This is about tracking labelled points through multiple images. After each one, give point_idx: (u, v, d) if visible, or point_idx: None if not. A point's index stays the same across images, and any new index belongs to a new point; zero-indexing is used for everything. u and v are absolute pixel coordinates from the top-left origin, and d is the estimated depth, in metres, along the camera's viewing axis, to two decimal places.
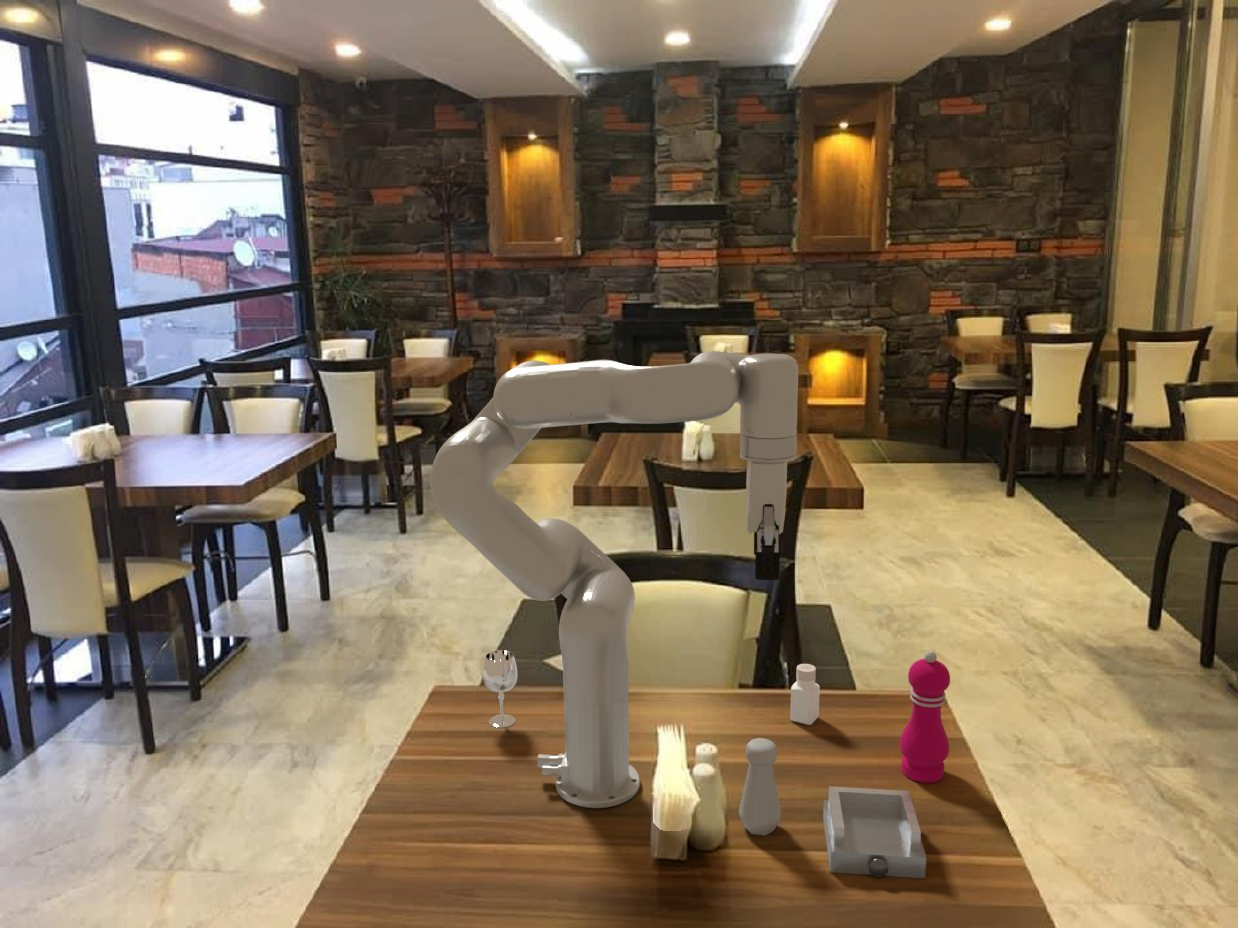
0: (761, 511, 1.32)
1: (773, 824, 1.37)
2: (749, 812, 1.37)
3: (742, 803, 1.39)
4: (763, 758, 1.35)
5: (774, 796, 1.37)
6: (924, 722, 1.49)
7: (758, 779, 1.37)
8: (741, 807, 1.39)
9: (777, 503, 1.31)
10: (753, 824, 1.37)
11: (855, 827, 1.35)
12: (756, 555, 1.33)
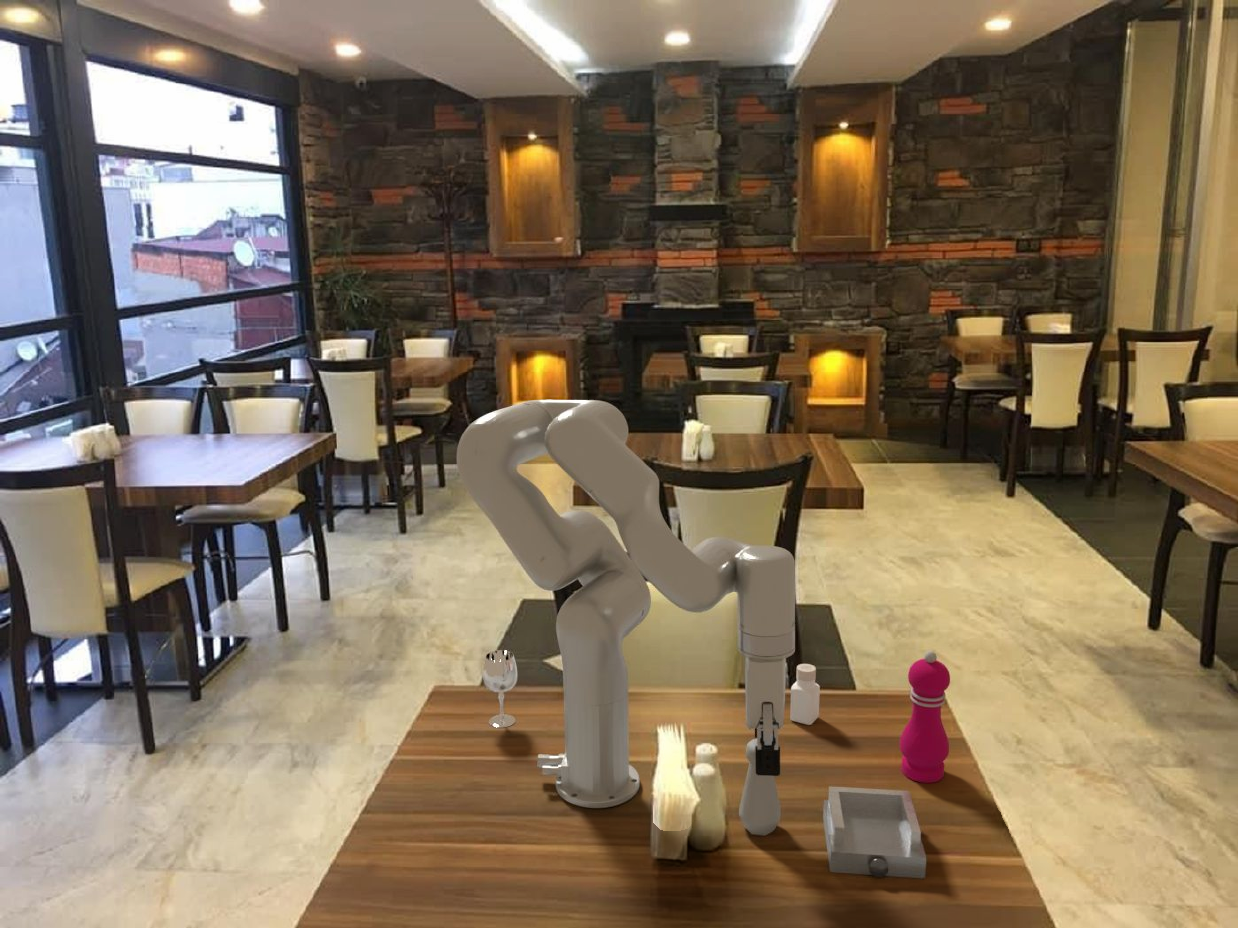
0: (760, 709, 1.30)
1: (773, 824, 1.37)
2: (750, 812, 1.37)
3: (742, 803, 1.39)
4: None
5: (774, 796, 1.37)
6: (924, 722, 1.49)
7: (758, 779, 1.37)
8: (741, 807, 1.39)
9: (776, 700, 1.30)
10: (753, 824, 1.37)
11: (855, 827, 1.35)
12: (756, 751, 1.32)
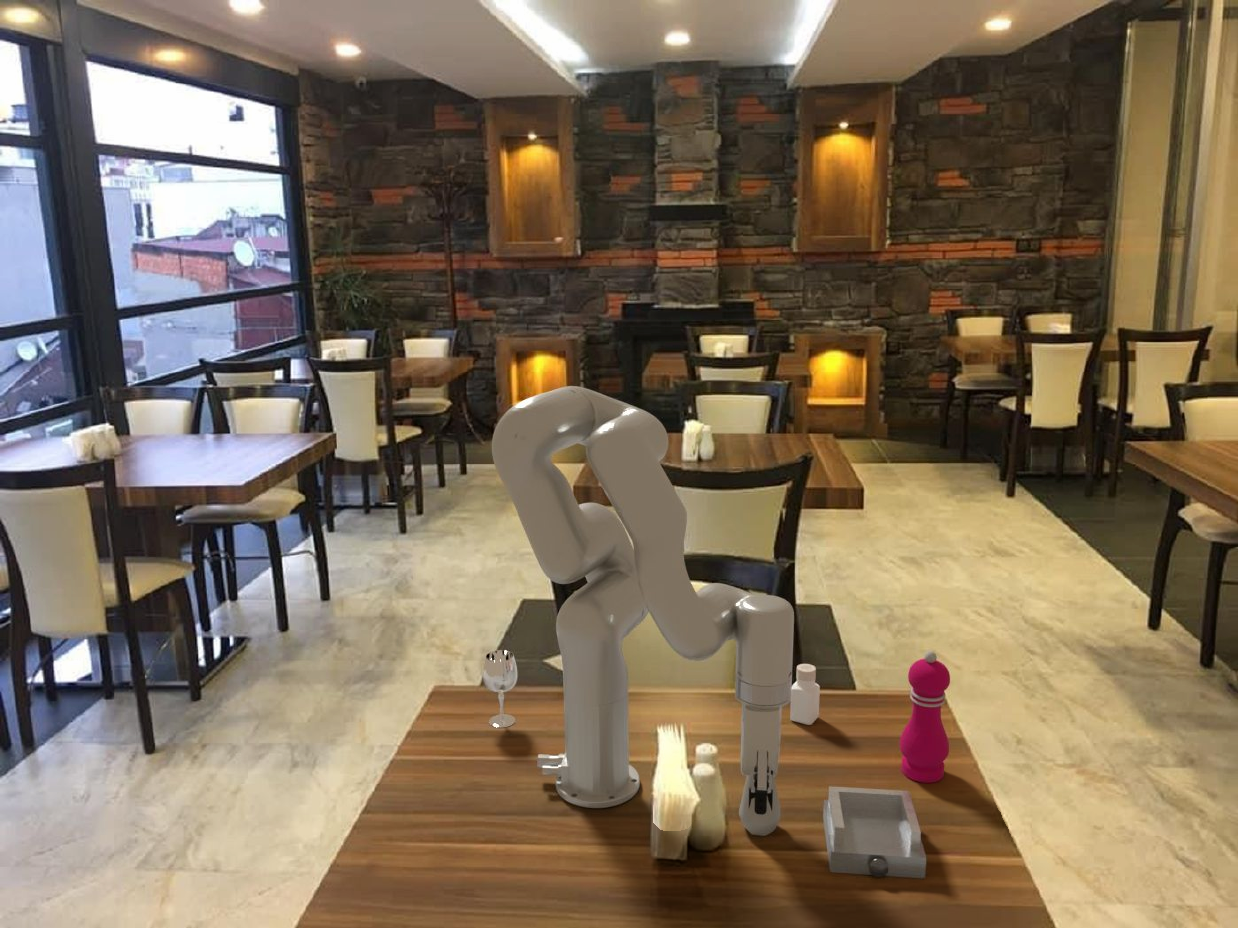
0: (755, 756, 1.32)
1: (773, 824, 1.37)
2: (749, 812, 1.37)
3: (742, 803, 1.39)
4: None
5: (774, 796, 1.37)
6: (924, 722, 1.49)
7: None
8: (741, 807, 1.39)
9: (772, 749, 1.32)
10: (753, 824, 1.37)
11: (855, 827, 1.35)
12: (749, 793, 1.37)
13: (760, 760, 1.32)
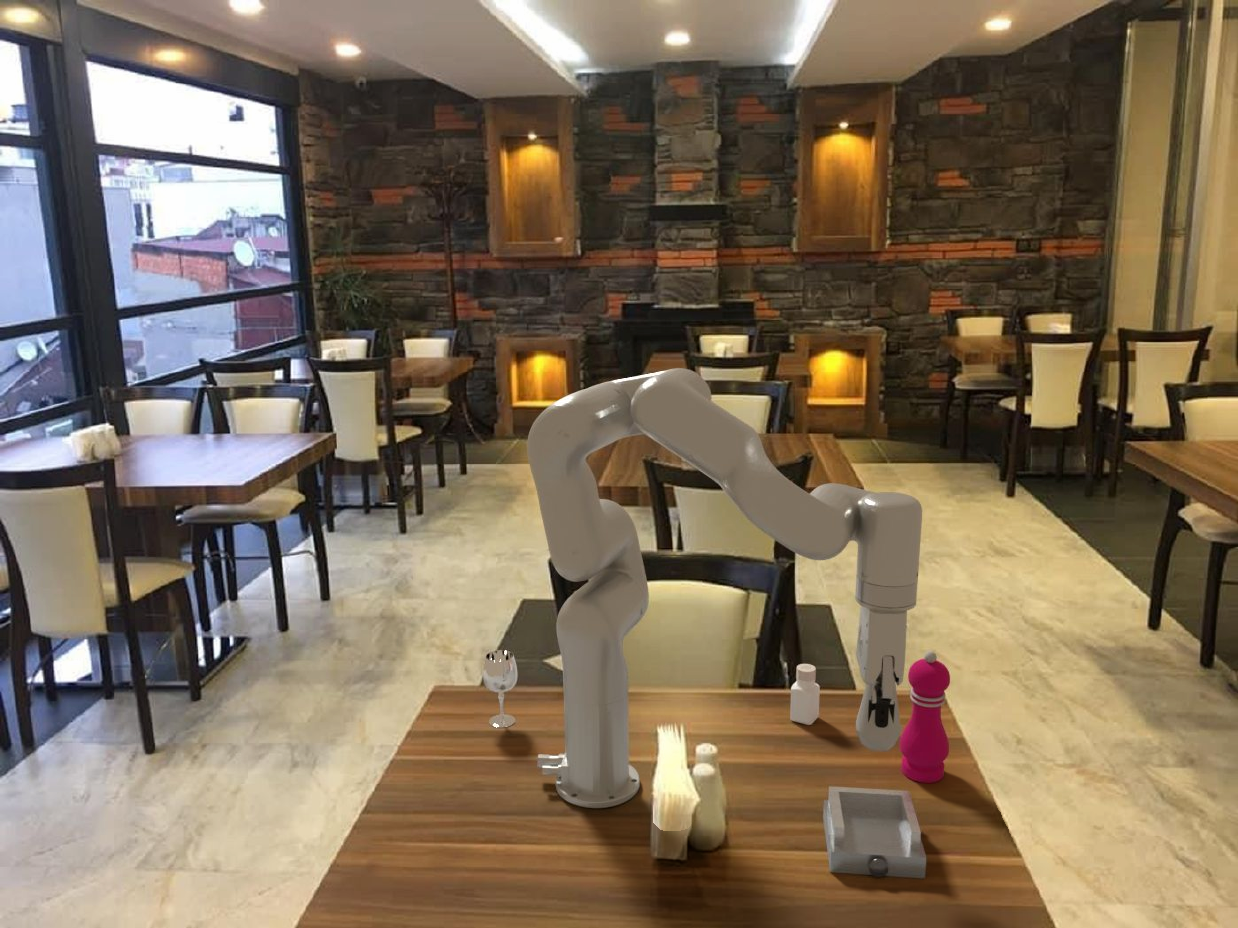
0: (880, 662, 1.24)
1: (894, 738, 1.29)
2: (870, 725, 1.29)
3: (860, 717, 1.30)
4: None
5: (896, 708, 1.29)
6: (924, 722, 1.49)
7: None
8: (859, 721, 1.30)
9: (898, 654, 1.23)
10: (873, 738, 1.29)
11: (855, 827, 1.35)
12: (869, 705, 1.28)
13: (885, 667, 1.24)
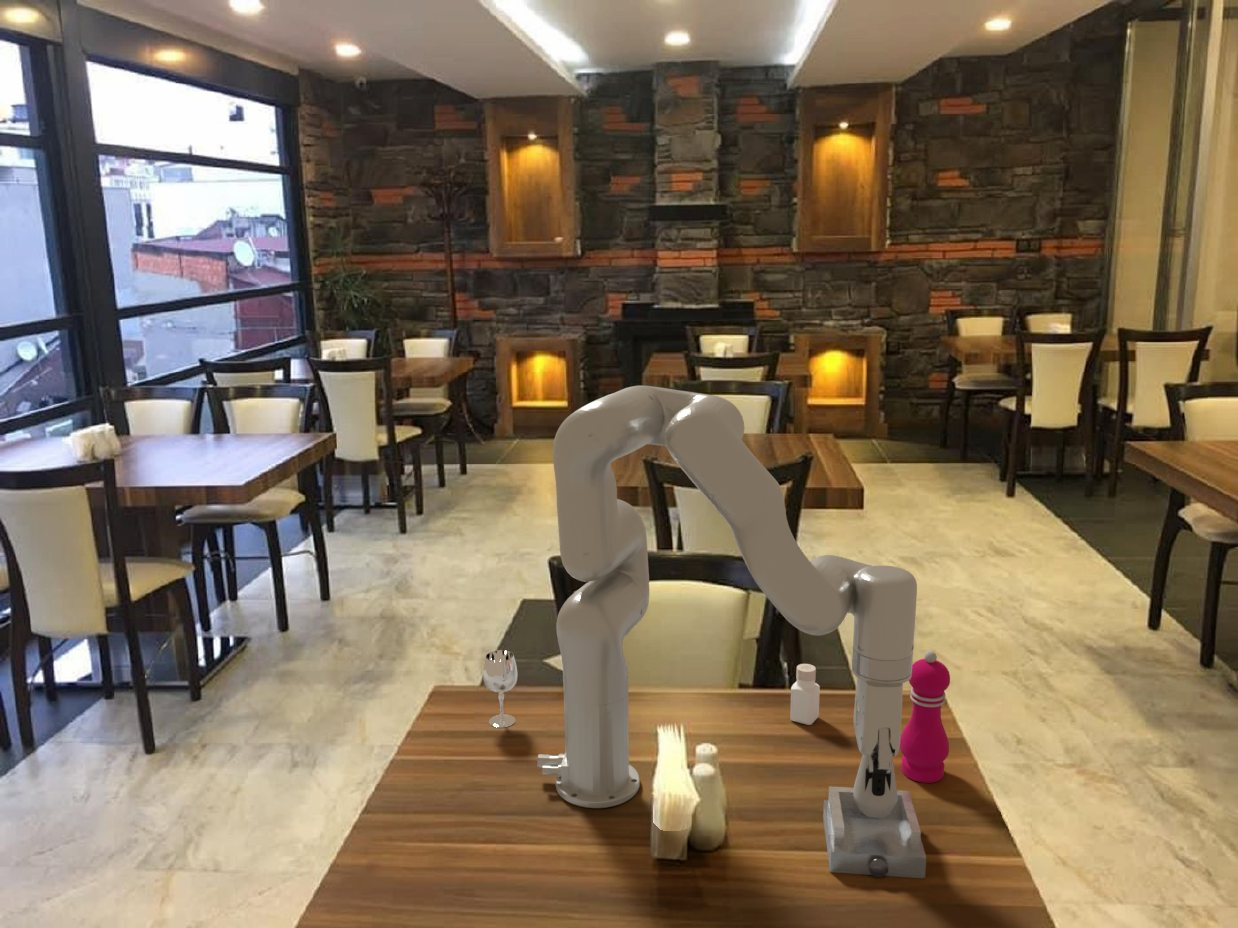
0: (877, 734, 1.26)
1: (891, 806, 1.31)
2: (867, 793, 1.31)
3: (857, 784, 1.32)
4: None
5: (892, 776, 1.31)
6: (924, 722, 1.49)
7: None
8: (856, 788, 1.33)
9: (894, 726, 1.26)
10: (870, 806, 1.31)
11: (855, 827, 1.35)
12: (866, 774, 1.31)
13: (881, 738, 1.26)
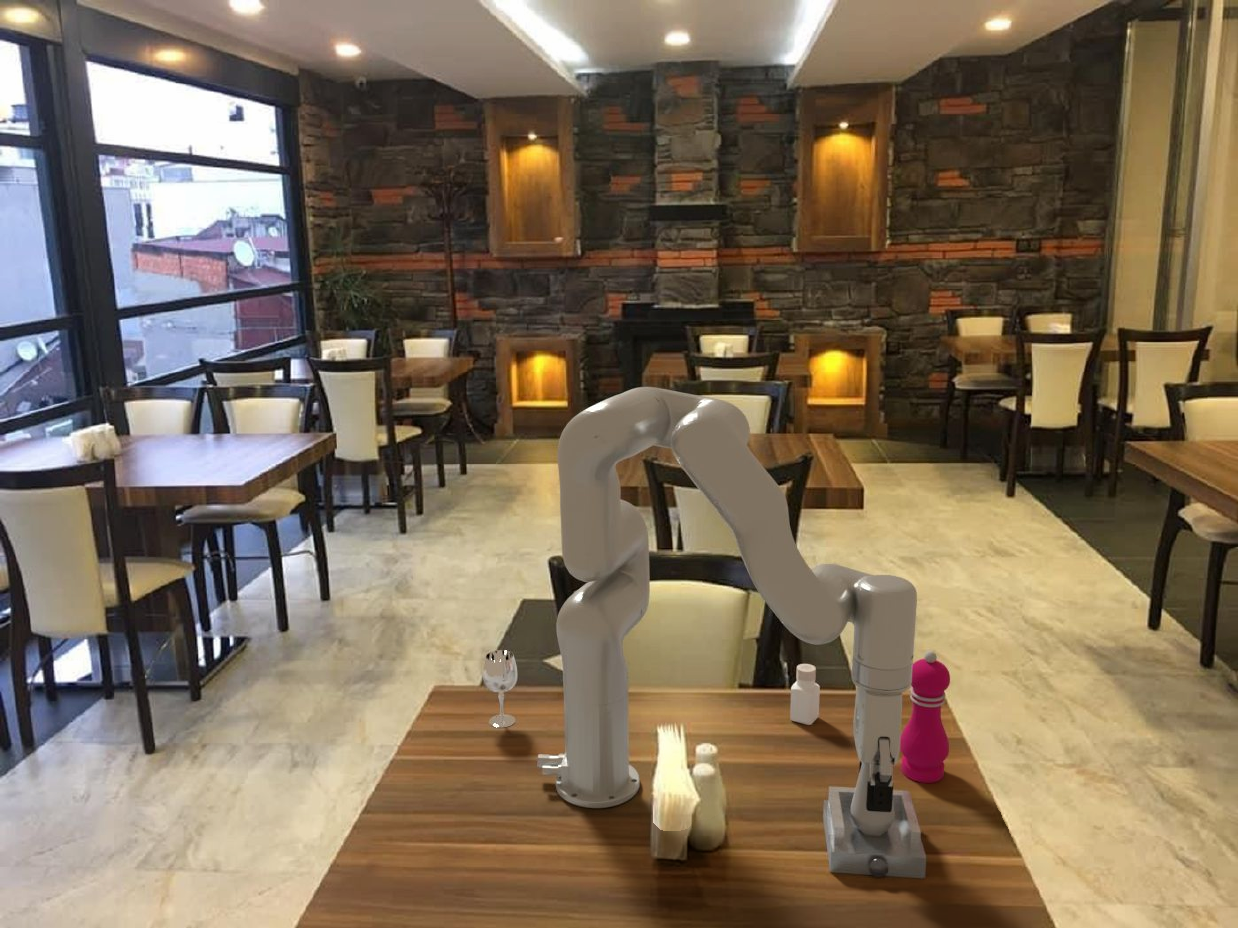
0: (876, 743, 1.26)
1: (888, 824, 1.32)
2: (864, 811, 1.32)
3: (855, 802, 1.33)
4: None
5: None
6: (924, 722, 1.49)
7: None
8: (854, 806, 1.33)
9: (894, 735, 1.26)
10: (868, 824, 1.32)
11: (855, 827, 1.35)
12: (868, 787, 1.29)
13: None
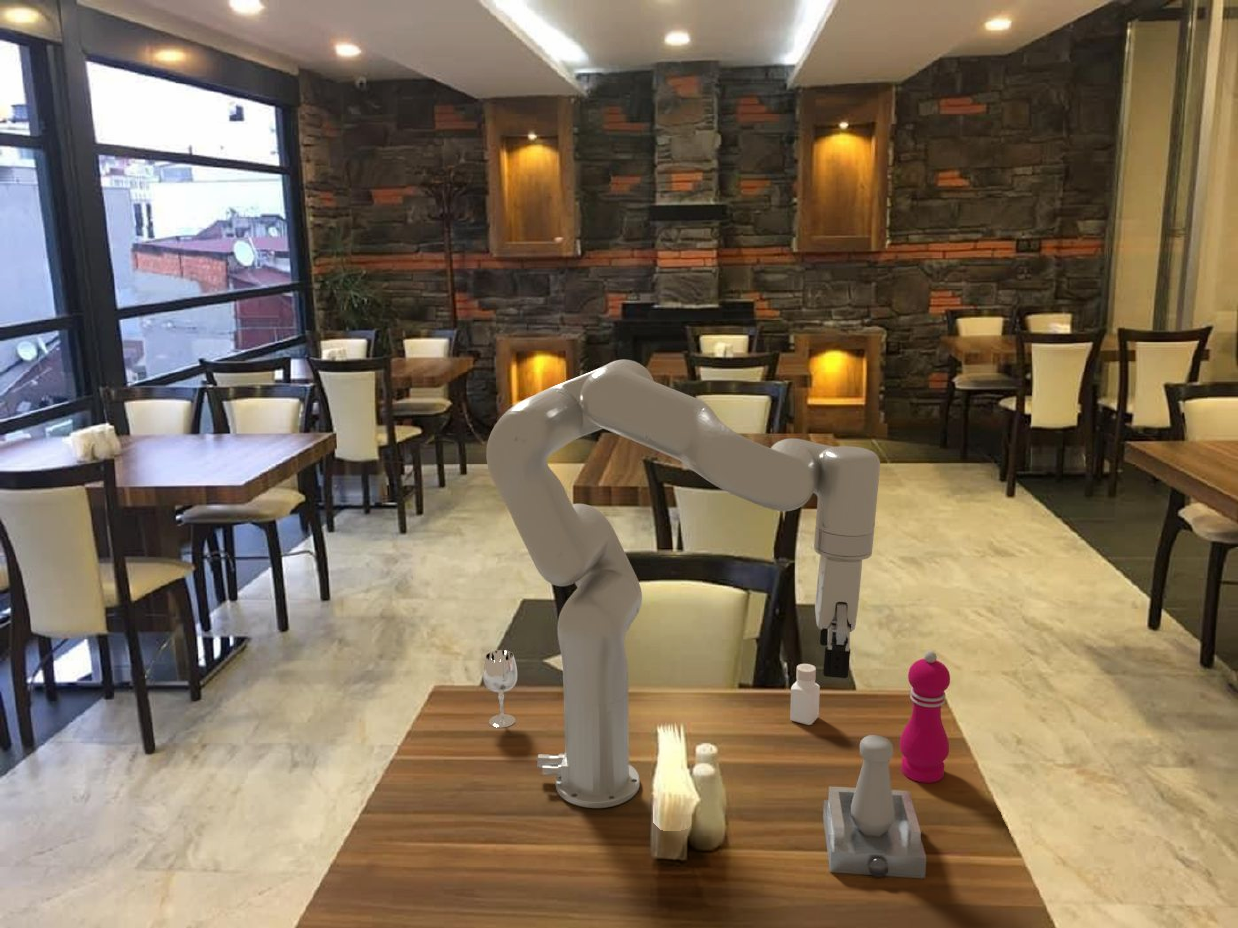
0: (834, 608, 1.29)
1: (888, 824, 1.32)
2: (864, 812, 1.32)
3: (855, 802, 1.33)
4: (880, 755, 1.30)
5: (889, 795, 1.32)
6: (924, 722, 1.49)
7: (873, 778, 1.31)
8: (854, 807, 1.33)
9: (851, 601, 1.29)
10: (868, 824, 1.32)
11: (855, 827, 1.35)
12: (826, 652, 1.31)
13: None
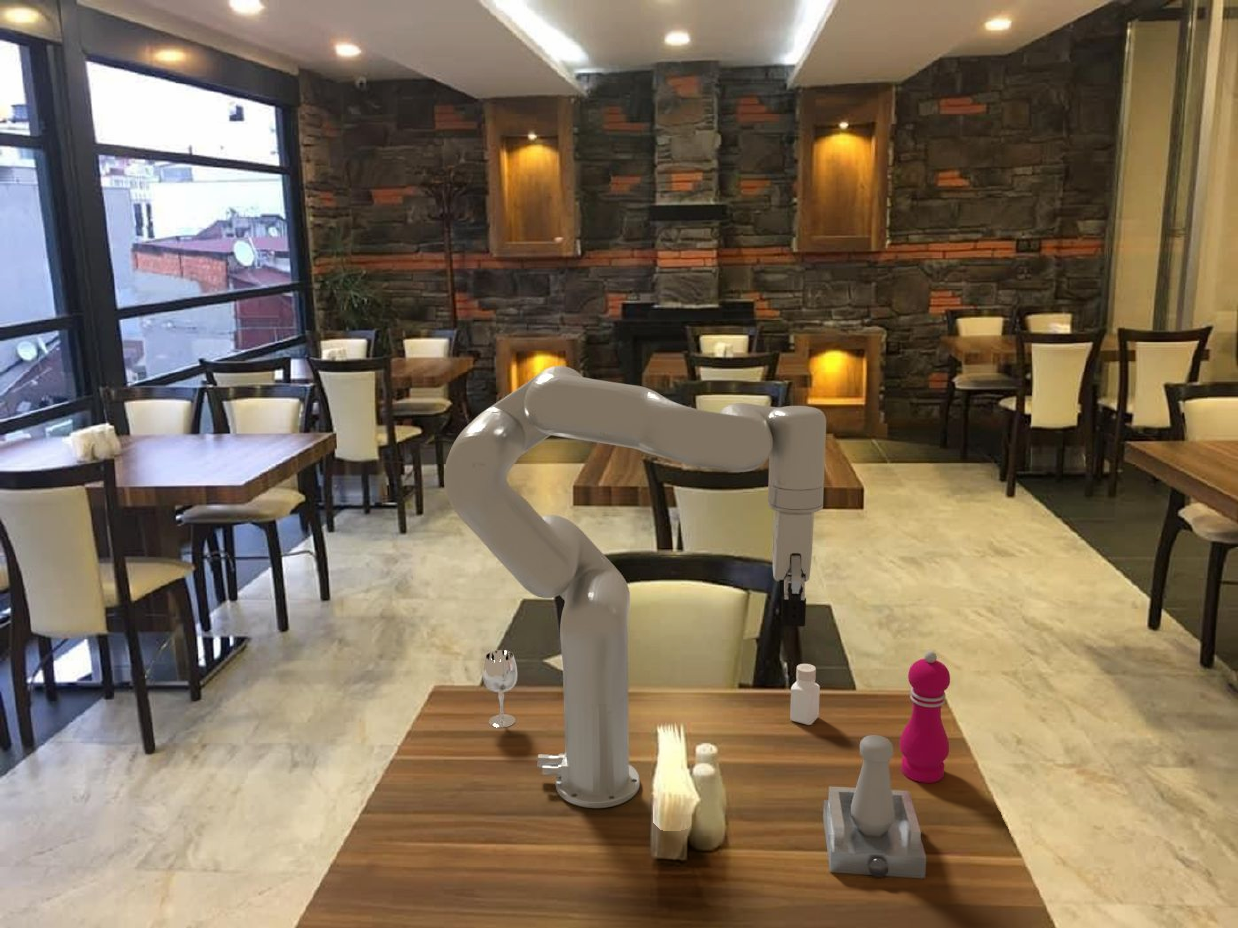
0: (788, 560, 1.35)
1: (888, 824, 1.32)
2: (864, 812, 1.32)
3: (855, 802, 1.33)
4: (880, 755, 1.30)
5: (890, 795, 1.32)
6: (924, 722, 1.49)
7: (873, 778, 1.31)
8: (854, 807, 1.33)
9: (804, 552, 1.35)
10: (868, 824, 1.32)
11: (855, 827, 1.35)
12: (783, 602, 1.37)
13: None
